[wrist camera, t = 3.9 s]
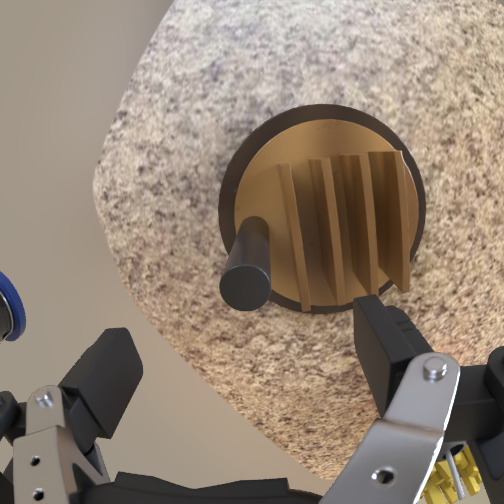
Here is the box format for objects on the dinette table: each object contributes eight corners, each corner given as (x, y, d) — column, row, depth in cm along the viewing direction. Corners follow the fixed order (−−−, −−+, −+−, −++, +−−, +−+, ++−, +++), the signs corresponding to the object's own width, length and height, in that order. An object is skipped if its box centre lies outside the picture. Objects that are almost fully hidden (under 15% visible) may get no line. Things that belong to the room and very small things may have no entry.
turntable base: (208, 289, 30) (205, 296, 29) (239, 88, 24) (237, 85, 23) (388, 317, 30) (392, 324, 29) (434, 138, 24) (442, 138, 23)
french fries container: (380, 380, 33) (428, 501, 16) (453, 363, 32) (517, 459, 15) (376, 405, 34) (413, 519, 17) (445, 388, 33) (499, 482, 16)
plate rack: (402, 114, 22) (492, 94, 11) (415, 284, 27) (484, 356, 15) (218, 137, 24) (175, 120, 12) (254, 313, 29) (246, 411, 17)
